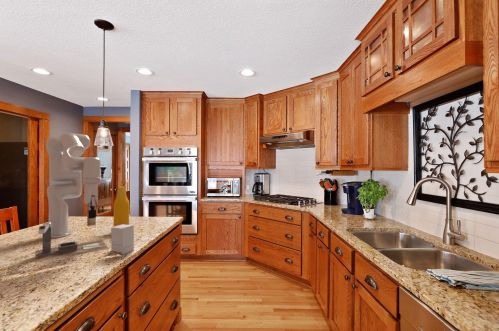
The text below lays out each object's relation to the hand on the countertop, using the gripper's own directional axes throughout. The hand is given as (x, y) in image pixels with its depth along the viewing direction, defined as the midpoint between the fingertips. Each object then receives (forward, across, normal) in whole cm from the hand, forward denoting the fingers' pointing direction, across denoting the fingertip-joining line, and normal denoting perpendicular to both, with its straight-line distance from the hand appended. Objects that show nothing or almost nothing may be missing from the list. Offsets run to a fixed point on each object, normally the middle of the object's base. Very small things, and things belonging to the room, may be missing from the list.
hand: (91, 217), depth 125 cm
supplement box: (+17, +14, +11) cm, 24 cm away
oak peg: (+4, 0, 0) cm, 4 cm away
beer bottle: (+16, -29, +20) cm, 39 cm away
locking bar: (+2, +5, -18) cm, 19 cm away
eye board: (+16, -1, -8) cm, 18 cm away
